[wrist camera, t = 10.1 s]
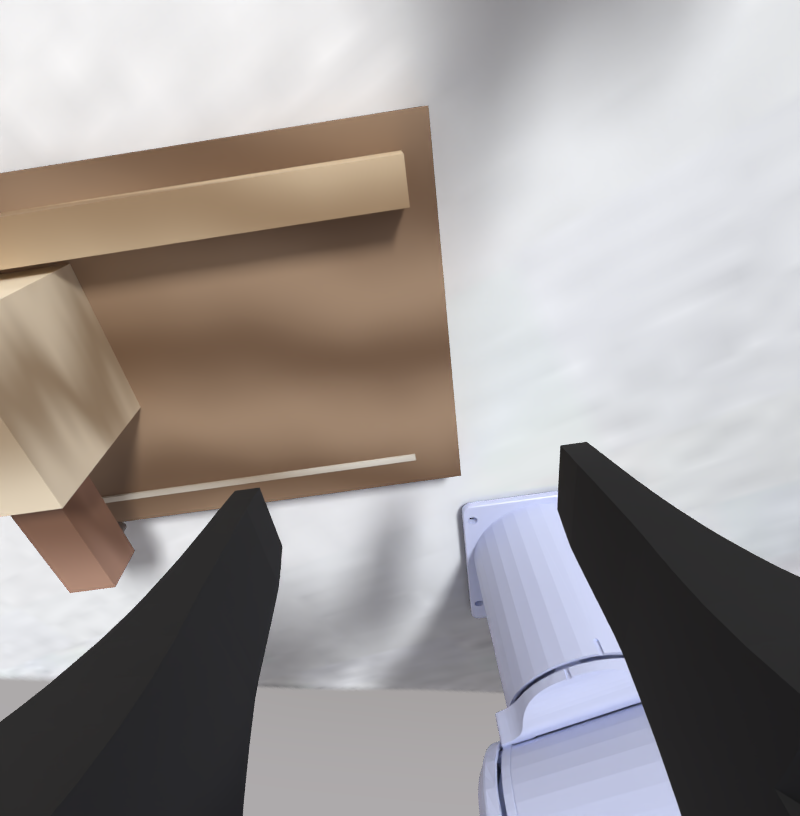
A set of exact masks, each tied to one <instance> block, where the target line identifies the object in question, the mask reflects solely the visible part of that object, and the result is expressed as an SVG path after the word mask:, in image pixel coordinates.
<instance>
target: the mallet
mask: <svg viewBox="0 0 800 816" xmlns="http://www.w3.org/2000/svg"><path fill="white" fill-rule="evenodd" d="M140 408H141V407H140V405H139V403H138V401H137V399H136V397H135V395H134V393H133V391H132V389H131V386H130V384H129V382H128V380H127V378H126V376H125V374H124V372H123V370H122V368H121V366H120V364H119V362H118V360H117V358H116V356H115V354H114V352H113V350H112V348H111V346H110V344H109V342H108V340H107V338H106V336H105V334H104V332H103V330H102V328H101V326H100V324H99V322H98V320H97V318H96V316H95V314H94V312H93V310H92V307H91V305H90V303H89V301H88V299H87V297H86V295H85V293H84V291H83V289H82V287H81V285H80V283H79V281H78V279H77V277H76V275H75V273H74V271H73V269H72V267H71V265H70V264H64V265H58V266H51V267H45V268H38V269H31V270H25V271H18V272H12V273H5V274H0V517H3V516H11V517H12V518H13V520H14V521H15V522H16V523H17V525H18V526H19V527H20V529H21V530H22V531H23V533H24V534H25V535H26V536H27V538H28V539H29V540H30V542H31V543H32V544H33V546H34V547H35V548H36V549H37V551H38V552H39V553H40V555H41V556H42V557H43V559H44V560H45V561H46V562H47V564H48V565H49V566H50V568H51V569H52V570H53V572H54V573H55V574H56V575H57V577H58V578H59V579H60V581H61V582H62V583H63V585H64V586H65V587H66V588H67V590H68V591H69V592H70V593H73V592H81V591H88V590H96V589H104V588H111V587H116V585H117V583H118V581H119V579H120V577H121V575H122V574H123V572H124V570H125V568H126V566H127V564H128V562H129V560H130V559H131V557H132V555H133V553H134V551H135V550H134V549H133V547H132V545H131V544H130V542H129V541H128V539H127V537H126V536H125V534H124V530H125V529H126V525H125V524H124V523H123V522H117V521H116V520H115V518H114V516H113V515H112V513H111V511H110V510H109V508H108V507H107V505H106V503H105V502H104V500H103V498H102V497H101V495H100V494H99V492H98V490H97V489H96V487H95V485H94V484H93V482H92V481H91V479H90V477H89V476H88V475H89V474H90V472H91V471H92V470H93V468H94V467H95V466H96V465H97V463H98V462H99V461H100V459H101V458H102V457H103V455H104V454H105V453H106V452H107V450H108V449H109V448H110V446H111V445H112V444H113V443H114V441H115V440H116V439H117V437H118V436H119V435H120V433H121V432H122V431H123V430H124V428H125V427H126V426H127V424H128V423H129V422H130V421H131V419H132V418H133V417H134V415H135V414H136V413H137V412H138V410H139V409H140Z"/></svg>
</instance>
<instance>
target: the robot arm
mask: <svg viewBox="0 0 800 816" xmlns="http://www.w3.org/2000/svg"><path fill="white" fill-rule="evenodd" d="M472 517H475V518H474V519H470V518H472ZM462 519H463V530H464V541H465V552H466V563H467V574H468V585H469V596H470V607H471V613H472V616H473V617H475V618H485V617H487V620H488V625H489V629H490V634H491V638H492V642H493V647H494V651H495V656H496V660H497V665H498V669H499V673H500V678H501V682H502V687H503V691H504V696H505V700H506V704H507V708H506V709H504V710H502V711H499V712H497V713H496V714H495V716H496V721H497V726H498V731H499V736H500V741H498V742H495V743H493V744H491V745H490V746H489V747H488V749H487V750H486V753H485V756H484V760H483V766H482V769H481V773H480V777H479V787H478V798H479V812H480V816H800V577H798V576H796V575H794V574H792V573H790V572H788V571H786V570H784V569H781V568H779V567H777V566H775V565H773V564H771V563H770V562H768V561H766V560H764V559H762V558H760V557H758V556H756V555H754V554H752V553H751V552H749V551H747V550H745V549H743V548H742V547H740V546H738V545H736V544H734V543H733V542H731V541H729V540H727V539H725V538H724V537H722V536H720V535H718V534H717V533H715V532H713V531H712V530H710V529H708V528H707V527H705V526H703V525H702V524H700V523H699V522H697V521H696V520H694V519H692V518H691V517H689V516H688V515H686V514H685V513H683V512H682V511H680V510H678V509H677V508H675V507H674V506H673V505H671V504H670V503H668V502H667V501H665V500H664V499H662V498H661V497H659V496H658V495H657V494H655V493H654V492H652V491H651V490H650V489H648V488H647V487H645V486H644V485H643V484H641V483H640V482H638V481H637V480H636V479H634V478H633V477H632V476H630V475H629V474H628V473H626V472H625V471H624V470H622V469H621V468H620V467H619V466H617V465H616V464H615V463H613V462H612V461H611V460H609V459H608V458H607V457H606V456H604V455H603V454H602V453H600V452H599V451H598V450H597V449H595V448H594V447H593V446H591V445H590V444H589V443H587V442H583V443H576V444H569V445H561V446H560V465H559V484H558V491H553V492H545V493H538V494H531V495H523V496H516V497H508V498H501V499H493V500H486V501H479V502H471V503H467V504H466V505H464V506H463V508H462ZM281 556H282V545H281V542H280V539H279V537H278V534H277V531H276V529H275V526H274V524H273V521H272V518H271V516H270V513H269V511H268V508H267V505H266V503H265V500H264V498H263V495H262V492H261V490H260V487H259V488H252V489H244V490H237V491H234V492H233V494H232V495H231V496H230V497H229V498H228V499H227V501H226V502H225V503H224V504H223V506H222V507H221V508H220V509H219V511H218V512H217V513H216V514H215V516H214V517H213V518H212V519H211V521H210V522H209V523H208V524H207V526H206V527H205V528H204V529H203V531H202V532H201V533H200V534H199V535H198V537H197V538H196V539H195V540H194V541H193V543H192V544H191V545H190V546H189V547H188V549H187V550H186V551H185V552H184V553H183V555H182V556H181V557H180V558H179V559H178V561H177V562H176V563H175V564H174V565H173V566H172V567H171V568H170V569H169V570H168V572H167V573H166V574H165V575H164V576H163V577H162V578H161V579H160V580H159V582H158V583H157V584H156V585H155V586H154V587H153V588H152V589H151V590H150V591H149V593H148V594H147V595H146V596H145V597H144V598H143V599H142V600H141V601H140V602H139V603H138V604H137V605H136V606H135V607H134V608H133V609H132V610H131V611H130V612H129V613H128V614H127V615H126V616H125V617H124V618H123V619H122V620H121V621H120V622H119V623H118V624H117V625H116V626H115V627H114V628H113V629H112V630H110V631H109V632H108V633H107V634H106V635H105V636H104V637H103V638H102V639H101V640H100V641H99V642H98V643H96V644H95V645H94V646H93V647H92V648H91V649H90V650H88V651H87V652H86V653H85V654H84V655H83V656H81V657H80V658H79V659H78V660H77V661H76V662H74V663H73V664H72V665H71V666H70V667H69V668H67V669H66V670H65V671H64V672H63V673H62V674H60V675H59V676H58V677H57V678H56V679H55V680H53V681H52V682H51V683H50V684H48V685H47V686H46V687H45V688H44V689H42V690H41V691H40V692H38V693H37V694H36V695H35V696H34V697H32V698H31V699H30V700H28V701H27V702H26V703H24V704H23V705H22V706H21V707H19V708H18V709H17V710H15V711H14V712H13V713H11V714H10V715H9V716H7V717H6V718H5V719H3V720H2V721H1V722H0V816H243V804H244V793H245V783H246V772H247V763H248V754H249V744H250V736H251V727H252V719H253V711H254V703H255V696H256V691H257V686H258V680H259V675H260V671H261V666H262V662H263V657H264V653H265V648H266V644H267V639H268V635H269V630H270V626H271V621H272V616H273V612H274V607H275V602H276V598H277V593H278V588H279V579H280V569H281Z"/></svg>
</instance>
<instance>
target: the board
mask: <svg viewBox="0 0 800 816" xmlns="http://www.w3.org/2000/svg"><path fill="white" fill-rule="evenodd" d="M64 264H70V265H71V267H72V269H73V271H74V273H75V275H76V277H77V279H78V281H79V283H80V285H81V287H82V289H83V291H84V293H85V295H86V297H87V299H88V301H89V303H90V305H91V307H92V310H93V312H94V314H95V316H96V318H97V320H98V322H99V324H100V326H101V328H102V330H103V332H104V334H105V336H106V338H107V340H108V342H109V344H110V346H111V348H112V350H113V352H114V354H115V356H116V358H117V360H118V362H119V364H120V366H121V368H122V370H123V372H124V374H125V376H126V378H127V380H128V382H129V384H130V386H131V389H132V391H133V393H134V395H135V397H136V399H137V401H138V403H139V405H140V407H141V408H140V409H139V410H138V412H137V413H136V414H135V415H134V417H133V418H132V419H131V421H130V422H129V423H128V424H127V426H126V427H125V428H124V430H123V431H122V432H121V433H120V435H119V436H118V437H117V439H116V440H115V441H114V443H113V444H112V445H111V446H110V448H109V449H108V450H107V452H106V453H105V454H104V455H103V457H102V458H101V459H100V461H99V462H98V463H97V465H96V466H95V467H94V468H93V470H92V471H91V472H90V474H89V475H88V476H89V477H90V479H91V481H92V482H93V484H94V485H95V487H96V489H97V490H98V492H99V494H100V495H101V497H102V498H103V500H104V502H105V503H106V505H107V507H108V508H109V510H110V511H111V513H112V515H113V516H114V518H115V520H116V521H117V522H124V521H132V520H139V519H146V518H154V517H161V516H168V515H175V514H183V513H190V512H197V511H205V510H212V509H219V508H221V507H222V506H223V504H224V503H225V502H226V501H227V499H228V498H229V497H230V496H231V495H232V494H233V492H234V491H237V490H244V489H252V488H259V487H260V490H261V492H262V495H263V498H264V500H265V502H271V501H278V500H285V499H293V498H300V497H307V496H315V495H322V494H329V493H337V492H344V491H351V490H359V489H366V488H373V487H381V486H388V485H395V484H403V483H410V482H417V481H425V480H432V479H439V478H447V477H454V476H461V471H460V459H459V448H458V437H457V425H456V414H455V403H454V391H453V380H452V369H451V357H450V346H449V335H448V323H447V312H446V301H445V289H444V278H443V267H442V255H441V244H440V233H439V221H438V210H437V199H436V187H435V176H434V165H433V153H432V142H431V131H430V119H429V108H428V106H420V107H414V108H408V109H401V110H395V111H389V112H383V113H376V114H370V115H364V116H357V117H351V118H345V119H339V120H332V121H326V122H320V123H313V124H307V125H301V126H295V127H288V128H282V129H276V130H269V131H263V132H257V133H250V134H244V135H238V136H232V137H225V138H219V139H213V140H206V141H200V142H194V143H188V144H181V145H175V146H169V147H162V148H156V149H150V150H144V151H137V152H131V153H125V154H118V155H112V156H106V157H99V158H93V159H87V160H81V161H74V162H68V163H62V164H55V165H49V166H43V167H37V168H30V169H24V170H18V171H11V172H5V173H0V274H5V273H12V272H18V271H25V270H31V269H38V268H45V267H51V266H58V265H64Z"/></svg>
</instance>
